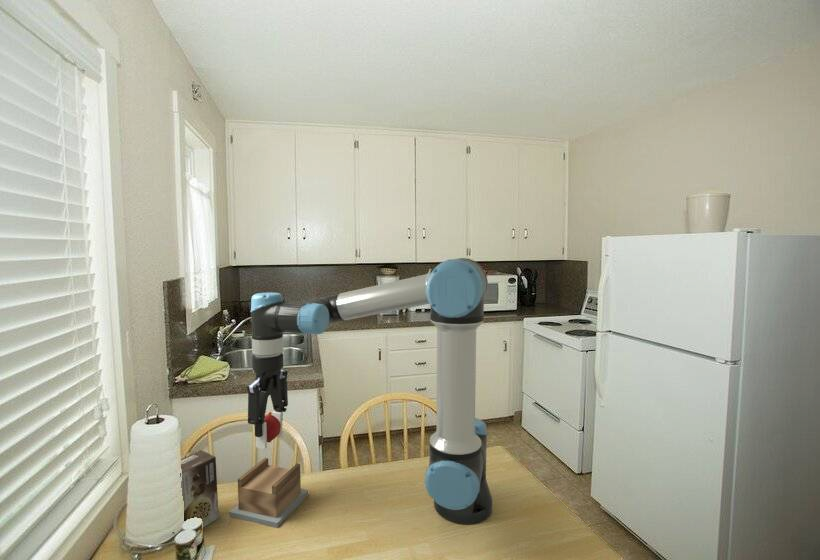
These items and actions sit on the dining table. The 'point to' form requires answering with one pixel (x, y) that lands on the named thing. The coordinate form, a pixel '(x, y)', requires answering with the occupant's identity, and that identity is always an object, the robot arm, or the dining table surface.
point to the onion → (272, 426)
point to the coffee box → (199, 487)
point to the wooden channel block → (268, 489)
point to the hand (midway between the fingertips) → (269, 441)
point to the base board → (266, 519)
